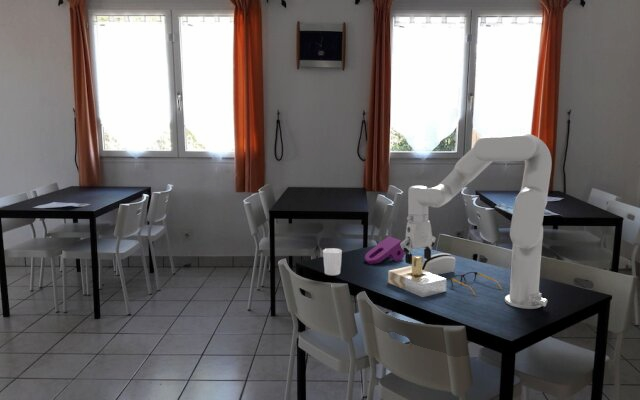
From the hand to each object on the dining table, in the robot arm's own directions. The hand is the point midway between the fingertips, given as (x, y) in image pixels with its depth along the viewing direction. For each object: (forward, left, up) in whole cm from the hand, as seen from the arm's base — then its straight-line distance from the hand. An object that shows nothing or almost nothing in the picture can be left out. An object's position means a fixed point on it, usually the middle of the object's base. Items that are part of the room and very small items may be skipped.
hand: (418, 261), depth 202 cm
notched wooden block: (+5, 0, -10) cm, 12 cm away
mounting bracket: (+37, -12, -11) cm, 40 cm away
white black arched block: (+8, -19, -11) cm, 23 cm away
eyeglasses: (-12, -19, -11) cm, 25 cm away
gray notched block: (-5, 0, -10) cm, 11 cm away
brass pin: (0, 0, -10) cm, 10 cm away
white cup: (+33, +18, -11) cm, 39 cm away
